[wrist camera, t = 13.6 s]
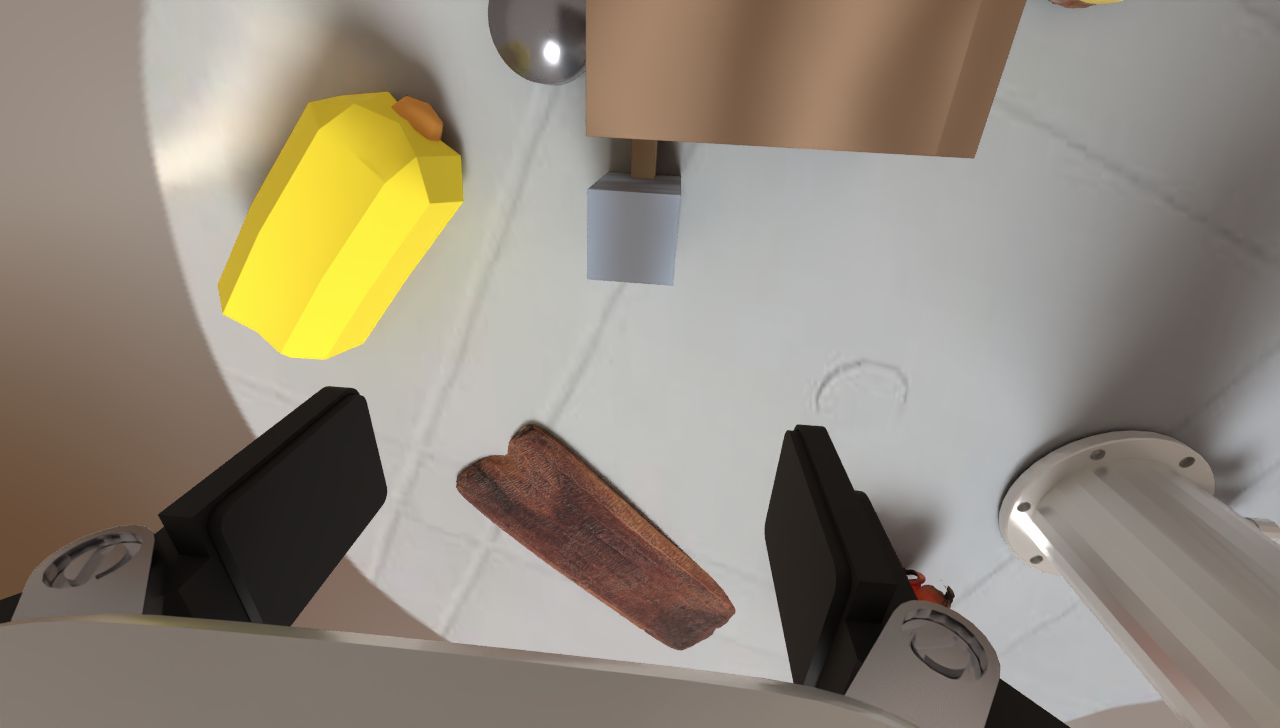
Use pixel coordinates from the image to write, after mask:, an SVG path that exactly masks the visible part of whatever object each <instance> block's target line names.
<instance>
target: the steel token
mask: <svg viewBox="0 0 1280 728" xmlns="http://www.w3.org/2000/svg"><path fill="white" fill-rule="evenodd" d="M488 20H489V27H490V33H491V36H492V39H493V42H494V44H495V47H496V49H497V51H498V52H499V54H500V56H501V57H502V59H503V60H504V62H505V63H506V64H507V65H508V66H509V67H510V68H511V69H512V70H513V71H514V72H515V73H517V74H518V75H520V76H521V77H523V78H525V79H527V80H530V81H533V82H537V83H542V84H547V85H562V84H565V83H569V82H571V81H573V80H575V79H576V78H578V77H579V76H580V75H582V74H583V73H584V72H585V71H586V0H489V6H488Z"/></svg>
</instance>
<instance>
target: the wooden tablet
mask: <svg viewBox="0 0 1280 728" xmlns="http://www.w3.org/2000/svg"><path fill="white" fill-rule="evenodd" d="M456 482H457V485H456V488H457V489H458V491H459V492H460V493H461V494H462V496H463V497H464V498H465V499H466V500H468V501H469V502H470V503H471V504H472V505H473V506H474V507H475V508H477V509H478V510H479V511H480V512H481V513H483V514H484V515H485V516H486V517H487V518H489V519H490V520H491V521H492V522H493V523H495V524H496V525H497V526H499V527H500V528H501V529H502V530H504V531H505V532H506V533H508V534H509V535H510V536H512V537H513V538H514V539H515V540H517V541H518V542H519V543H521V544H522V545H523V546H525V547H526V548H527V549H529V550H530V551H531V552H533V553H534V554H535V555H537V556H538V557H539V558H541V559H542V560H543V561H545V562H546V563H547V564H549V565H550V566H551V567H553V568H554V569H556V570H557V571H559V572H560V573H561V574H563V575H564V576H566V577H567V578H568V579H570V580H571V581H573V582H574V583H576V584H577V585H579V586H580V587H582V588H583V589H584V590H586V591H587V592H588V593H590V594H591V595H593V596H594V597H596V598H597V599H598V600H600V601H601V602H603V603H605V604H606V605H607V606H609V607H610V608H612V609H613V610H615V611H616V612H618V613H619V614H620V615H621V616H623V617H625V618H626V619H628V620H629V621H630V622H632V623H633V624H634V625H636V626H637V627H639V628H640V629H643V630H645V632H646V633H648V634H649V635H651V636H652V637H654V638H655V639H657V640H659V641H660V642H662V643H663V644H665V645H667V646H669V647H671V648H673V649H676V650H684V649H686V648H689V647H691V646H693V645H695V644H696V643H698V642H700V641H702V640H704V639H706V638H708V637H709V636H711V635H712V634H713V632H714V631H715V629H716V628H720V627H722V626H723V625H724V624H726V623H727V622H728V620H729V619H730V618H731V617H732V616H733V615H734V614H735V608H734V606H733V604H732V603H731V601H730V600H729V598H728V596H727V595H726V594H725V592H724V591H723V590H722V588H721V587H720V586H719V585H718V584H717V582H716V581H715V580H714V579H713V578H712V577H711V576H710V575H709V574H708V573H707V572H705V571H704V570H703V569H702V568H701V567H700V566H699V565H697V564H696V563H695V562H694V561H693V560H692V559H691V558H690V557H689V556H687V555H686V554H685V553H684V552H683V551H682V550H680V549H679V548H678V547H676V546H675V545H674V544H673V543H672V542H671V541H670V540H668V539H667V538H666V537H665V536H664V535H663V534H662V533H660V532H659V531H658V530H657V529H656V528H655V527H653V526H652V525H651V524H650V523H649V522H648V521H647V520H646V519H645V518H643V517H642V516H641V515H640V514H639V513H638V512H637V511H636V510H635V509H634V508H632V507H631V506H630V505H629V504H628V503H627V502H626V501H625V500H624V499H623V498H622V497H620V496H619V495H618V494H617V493H616V492H615V491H614V490H612V489H611V488H610V487H609V486H608V485H607V484H606V483H605V482H604V481H603V480H602V479H600V478H599V477H598V476H597V475H596V474H595V473H594V472H593V471H592V470H591V469H590V468H589V467H588V466H587V465H586V464H585V463H584V462H583V461H582V460H581V459H579V458H578V457H577V456H576V455H575V454H574V453H573V452H572V451H570V450H569V449H568V448H567V447H566V446H565V445H563V444H562V443H560V442H559V441H558V440H557V439H556V438H554V437H553V436H552V435H550V434H549V433H548V432H546V431H545V430H543V429H541V428H540V427H538V426H536V425H527V426H525V427H523V428H522V429H521V430H520V431H519V432H518V433H517V434H516V435H515V436H514V437H513V439H512V440H511V441H510V442H509V446H508V454H507V455H505V456H503V455H498V456H496V455H494V456H489V457H486V458H484V459H482V460H479V461H478V462H476V463H475V464H473V465H472V466H470V467H469V468H468V469H466V470H465V471H464V472H463V473H462V474H461V475H460V476H459V477H458V478H457V481H456Z"/></svg>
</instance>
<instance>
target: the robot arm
mask: <svg viewBox="0 0 1280 728" xmlns="http://www.w3.org/2000/svg"><path fill="white" fill-rule="evenodd" d="M1214 493H1215V481H1214V476H1213V473H1212V470H1211V468H1210V466H1209V464H1208V463H1207V462H1206V461H1205V460H1204V458H1203V457H1202V456H1201V455H1200V454H1198V453H1197V452H1195V451H1194V450H1192V449H1191V448H1190V447H1188V446H1187V445H1185V444H1184V443H1182V442H1180V441H1178V440H1176V439H1174V438H1172V437H1170V436H1166V435H1162V434H1158V433H1155V432H1147V431H1135V430H1131V431H1116V432H1109V433H1104V434H1099V435H1094V436H1090V437H1087V438H1084V439H1081V440H1078V441H1075V442H1072V443H1069V444H1067V445H1065V446H1063V447H1061V448H1059V449H1057V450H1054V451H1052V452H1051V453H1049V454H1048V455H1046V456H1044V457H1043V458H1041V459H1040V460H1038V461H1037V462H1035V463H1034V464H1033V465H1032V466H1031V467H1029V468H1028V469H1027V470H1026V471H1025V472H1024V473H1022V474H1021V475H1020V477H1019V478H1018V479H1017V480H1016V481H1015V483H1014V484H1013V485H1012V486H1011V487H1010V489H1009V491H1008V493H1007V494H1006V496H1005V498H1004V500H1003V502H1002V506H1001V509H1000V512H999V528H1000V531H1001V535H1002V537H1003V539H1004V541H1005V542H1006V544H1007V545H1008V547H1009V548H1010V549H1011V551H1012V552H1013V553H1014V554H1015V555H1016V556H1017V558H1018V559H1019V560H1021V561H1022V562H1023V563H1025V564H1026V565H1027V566H1029V567H1031V568H1034V569H1036V570H1038V571H1041V572H1044V573H1048V574H1052V575H1056V576H1062V577H1063V578H1064V579H1065V581H1066V582H1067V583H1068V584H1069V586H1070V587H1071V588H1072V589H1073V590H1074V592H1075V593H1076V594H1077V595H1078V596H1079V598H1080V599H1081V600H1082V601H1083V603H1084V604H1085V605H1086V606H1087V607H1088V609H1089V610H1090V611H1091V612H1092V613H1093V615H1094V616H1095V617H1096V618H1097V620H1098V621H1099V622H1100V623H1101V624H1102V626H1103V627H1104V628H1105V629H1106V631H1107V632H1108V633H1109V634H1110V635H1111V637H1112V638H1113V639H1114V640H1115V641H1116V643H1117V644H1118V645H1119V646H1120V648H1121V649H1122V650H1123V651H1124V652H1125V654H1126V655H1127V656H1128V657H1129V658H1130V660H1131V661H1132V662H1133V663H1134V665H1135V666H1136V667H1137V668H1138V669H1139V671H1140V672H1141V673H1142V674H1143V675H1144V677H1145V678H1146V679H1147V680H1148V682H1149V683H1150V684H1151V685H1152V686H1153V688H1154V689H1155V690H1156V691H1157V692H1158V694H1159V695H1160V696H1161V697H1162V699H1163V700H1164V701H1165V702H1166V703H1167V705H1168V706H1169V707H1170V708H1171V709H1172V711H1173V712H1174V713H1175V714H1176V716H1177V717H1178V718H1179V719H1180V720H1181V721H1182V723H1183V724H1184V725H1185V727H1186V728H1280V545H1279V544H1277V543H1276V542H1274V541H1276V540H1277V539H1279V538H1280V528H1279V527H1278V525H1277V524H1276V523H1275V522H1273V521H1270V520H1268V519H1258V518H1243V517H1242V516H1241V515H1239V514H1238V513H1236V512H1235V511H1234V510H1232V509H1231V508H1229V507H1228V506H1227V505H1225V504H1224V503H1223V502H1221V501H1220V500H1218V499H1217V498H1216V497H1214ZM386 496H387V486H386V481H385V477H384V473H383V469H382V465H381V460H380V456H379V452H378V448H377V444H376V439H375V435H374V431H373V427H372V423H371V418H370V414H369V410H368V406H367V402H366V399H365V398H364V396H361V395H360V394H359V392H358V391H357V390H356V389H354V388H344V387H332V386H327V387H324V388H322V389H321V390H320V391H318V392H317V393H316V394H314V395H313V396H312V397H311V398H309V399H308V400H307V401H305V402H304V403H303V404H301V405H300V406H299V407H298V408H296V409H295V410H294V411H292V412H291V413H290V414H288V415H287V416H286V417H284V418H283V419H282V420H281V421H279V422H278V423H277V424H275V425H274V426H273V427H271V428H270V429H269V430H268V431H266V432H265V433H264V434H262V435H261V436H260V437H258V438H257V439H256V440H254V441H253V442H252V443H251V444H249V445H248V446H247V447H245V448H244V449H243V450H242V451H240V452H239V453H238V454H236V455H235V456H234V457H232V458H231V459H230V460H228V461H227V462H226V463H225V464H223V465H222V466H221V467H219V468H218V469H217V470H215V471H214V472H213V473H212V474H210V475H209V476H208V477H206V478H205V479H204V480H202V481H201V482H200V483H198V484H197V485H196V486H195V487H193V488H192V489H191V490H190V491H188V492H187V493H186V494H184V495H183V496H182V497H180V498H179V499H178V500H176V501H175V502H174V503H172V504H171V505H170V506H168V507H167V508H166V509H165V510H163V511H162V512H161V513H159V514H158V516H159V517H160V519H161V521H162V523H163V525H164V527H163V528H162V529H161V530H160V531H158V532H157V533H156V534H154V532H153V531H152V530H150V529H149V528H147V527H144V526H139V525H127V526H118V527H114V528H110V529H105V530H102V531H99V532H96V533H93V534H90V535H87V536H85V537H83V538H80V539H78V540H77V541H74V542H72V543H70V544H68V545H66V546H64V547H63V548H61V549H60V550H58V551H57V552H55V553H54V554H52V555H50V556H49V557H48V558H47V559H45V560H44V561H43V562H42V563H41V564H40V565H39V566H38V567H37V568H35V570H34V571H33V573H32V574H31V576H30V577H29V579H28V581H27V583H26V586H25V588H24V591H23V592H22V593H19V594H16V595H13V596H11V597H8V598H5V599H2V600H0V728H1070V727H1069V726H1067V725H1066V724H1064V723H1063V722H1062V721H1060V720H1059V719H1057V718H1056V717H1054V716H1053V715H1052V714H1050V713H1049V712H1047V711H1046V710H1044V709H1043V708H1042V707H1040V706H1039V705H1037V704H1036V703H1034V702H1033V701H1032V700H1030V699H1029V698H1027V697H1026V696H1024V695H1023V694H1022V693H1020V692H1019V691H1017V690H1016V689H1014V688H1013V687H1012V686H1010V685H1009V684H1007V683H1006V682H1004V681H1003V680H1002V679H1000V663H999V660H998V657H997V654H996V652H995V650H994V648H993V647H992V645H991V644H990V642H989V641H988V639H987V638H986V636H985V635H984V634H983V633H982V632H981V631H980V630H979V629H978V628H977V627H976V626H975V625H974V624H973V623H971V622H970V621H968V620H967V619H966V618H964V617H963V616H961V615H960V614H959V613H957V612H955V611H953V610H951V609H949V608H947V607H945V606H943V605H940V604H937V603H933V602H929V601H920V600H918V598H917V596H916V594H915V592H914V590H913V588H912V586H911V584H910V582H909V580H908V578H907V576H906V574H905V572H904V570H903V568H902V566H901V563H900V561H899V559H898V557H897V555H896V553H895V551H894V549H893V547H892V545H891V543H890V541H889V539H888V537H887V535H886V533H885V531H884V529H883V527H882V525H881V522H880V520H879V518H878V516H877V514H876V512H875V510H874V508H873V506H872V504H871V502H870V500H869V498H868V497H867V495H866V494H865V493H864V492H862V491H854V489H853V486H852V484H851V482H850V480H849V478H848V476H847V473H846V471H845V469H844V467H843V465H842V463H841V460H840V458H839V456H838V454H837V452H836V449H835V447H834V445H833V443H832V441H831V439H830V436H829V434H828V432H827V430H826V428H825V427H823V426H810V425H796V427H795V428H794V431H790V430H787V431H786V433H785V436H784V440H783V445H782V449H781V454H780V458H779V463H778V467H777V472H776V476H775V481H774V485H773V490H772V494H771V499H770V504H769V508H768V513H767V517H766V522H765V541H766V546H767V551H768V556H769V561H770V566H771V571H772V577H773V582H774V587H775V592H776V597H777V602H778V607H779V612H780V617H781V622H782V627H783V632H784V637H785V642H786V647H787V652H788V657H789V663H790V668H791V673H792V678H793V683H788V682H782V681H776V680H771V679H765V678H758V677H750V676H743V675H735V674H727V673H719V672H711V671H703V670H695V669H688V668H680V667H672V666H663V665H654V664H645V663H635V662H626V661H617V660H608V659H599V658H590V657H581V656H572V655H562V654H553V653H544V652H535V651H526V650H516V649H506V648H497V647H487V646H478V645H468V644H459V643H449V642H439V641H430V640H420V639H410V638H400V637H390V636H381V635H371V634H361V633H350V632H340V631H330V630H320V629H310V628H299V627H290V626H291V625H292V624H293V622H294V621H295V620H296V618H297V617H298V616H299V614H300V613H301V612H302V610H303V609H304V608H305V607H306V605H307V604H308V603H309V601H310V600H311V599H312V597H313V596H314V595H315V593H316V592H317V591H318V589H319V588H320V587H321V586H322V584H323V583H324V582H325V580H326V579H327V578H328V576H329V575H330V574H331V572H332V571H333V570H334V568H335V567H336V566H337V565H338V563H339V562H340V560H341V559H342V558H343V557H344V555H345V554H346V553H347V551H348V550H349V549H350V547H351V546H352V545H353V543H354V542H355V541H356V540H357V538H358V537H359V536H360V534H361V533H362V532H363V530H364V529H365V528H366V526H367V525H368V524H369V522H370V521H371V520H372V519H373V517H374V516H375V515H376V513H377V512H378V511H379V509H380V508H381V507H382V505H383V504H384V502H385V500H386Z"/></svg>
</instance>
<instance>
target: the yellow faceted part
mask: <svg viewBox="0 0 1280 728" xmlns="http://www.w3.org/2000/svg"><path fill="white" fill-rule="evenodd" d="M442 130H443V122H442V121H441V119H440V118H439V116H438V115H437V114H436V112H435V111H434V110H433V108H432V107H431V106H430V104H429V103H426V102H423V101H420V100H418V99H415V98H412V97H409V96H405V97H404V98H402V99H401V100H399V101H398V102H397V101H396V100H395V99H394V97H393V96H392V95H391V94H390V93H389V92H376V93H364V94H353V95H341V96H335V97H331V98H326V99H322V100H317V101H313V102H309V103H308V105H307V106H306V108H305V110H304V112H303V113H302V115H301V117H300V119H299V121H298V122H297V124H296V126H295V128H294V129H293V131H292V133H291V135H290V137H289V138H288V140H287V142H286V144H285V145H284V147H283V149H282V151H281V153H280V154H279V156H278V158H277V160H276V161H275V163H274V165H273V167H272V169H271V170H270V172H269V174H268V176H267V178H266V179H265V181H264V183H263V185H262V186H261V188H260V190H259V192H258V194H257V195H256V197H255V199H254V201H253V202H252V205H251V207H250V209H249V212H248V214H247V216H246V219H245V221H244V224H243V226H242V228H241V231H240V233H239V235H238V238H237V240H236V243H235V245H234V247H233V250H232V252H231V254H230V257H229V259H228V262H227V264H226V266H225V269H224V271H223V273H222V276H221V278H220V281H219V283H218V289H219V295H220V301H221V307H222V313H223V315H225V316H227V317H229V318H231V319H233V320H235V321H237V322H239V323H241V324H243V325H245V326H247V327H249V328H250V329H252V330H254V331H256V332H257V333H259V334H260V335H261V336H262V337H263V338H264V339H265V340H266V341H267V342H268V343H270V344H271V345H272V346H273V347H274V348H275V349H276V350H277V351H278V352H279V353H281V354H283V355H286V356H288V357H293V358H309V359H328V358H330V357H332V356H335V355H337V354H340V353H342V352H344V351H347V350H349V349H351V348H354V347H356V346H359V345H361V344H363V343H364V342H365V340H366V339H367V337H368V336H369V334H370V333H371V331H372V330H373V328H374V327H375V325H376V324H377V322H378V321H379V319H380V318H381V316H382V315H383V313H384V312H385V310H386V309H387V307H388V306H389V305H390V303H391V302H392V300H393V299H394V297H395V296H396V294H397V293H398V291H399V290H400V288H401V287H402V285H403V284H404V282H405V281H406V279H407V278H408V276H409V275H410V274H411V272H412V271H413V270H414V268H415V267H416V266H417V264H418V263H419V261H420V260H421V259H422V257H423V256H424V255H425V253H426V252H427V250H428V249H429V248H430V246H431V245H432V244H433V242H434V241H435V240H436V238H437V237H438V235H439V234H440V233H441V231H442V230H443V229H444V227H445V226H446V225H447V223H448V222H449V220H450V219H451V218H452V216H453V215H454V214H455V212H456V211H457V209H458V208H459V207H460V205H461V204H462V203H463V184H462V164H461V155H459V154H458V153H457V152H455V151H454V150H453V149H451V148H450V147H449V146H447V145H446V144H445V143H443V142H442V141H441V136H442Z"/></svg>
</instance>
